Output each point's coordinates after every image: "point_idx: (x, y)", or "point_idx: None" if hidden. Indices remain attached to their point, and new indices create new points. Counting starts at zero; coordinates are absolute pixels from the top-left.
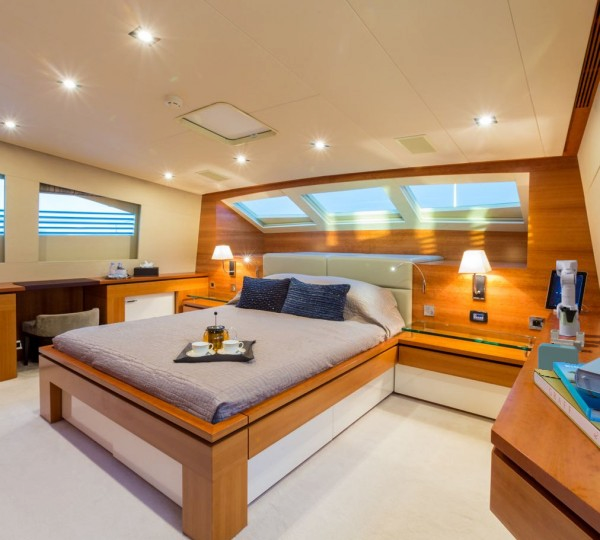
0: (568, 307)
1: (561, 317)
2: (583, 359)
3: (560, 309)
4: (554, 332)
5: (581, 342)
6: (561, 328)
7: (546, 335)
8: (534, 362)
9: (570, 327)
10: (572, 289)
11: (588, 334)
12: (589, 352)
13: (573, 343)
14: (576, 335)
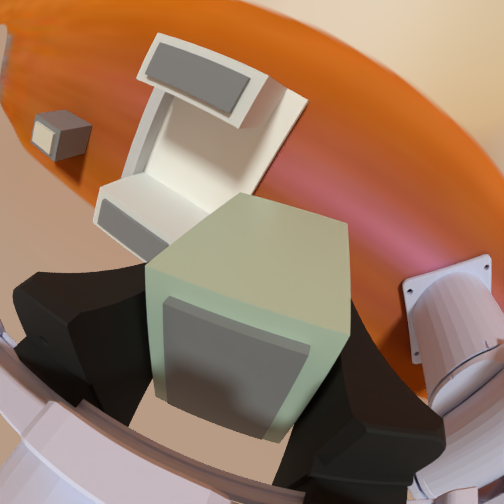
0: (47, 401)
1: (300, 253)
2: (9, 108)
3: (417, 409)
4: (148, 57)
5: (48, 155)
6: (470, 295)
7: (465, 159)
8: (7, 2)
9: (426, 342)
10: None
11: (423, 394)
12: (57, 162)
13: (37, 114)
14: (106, 185)
